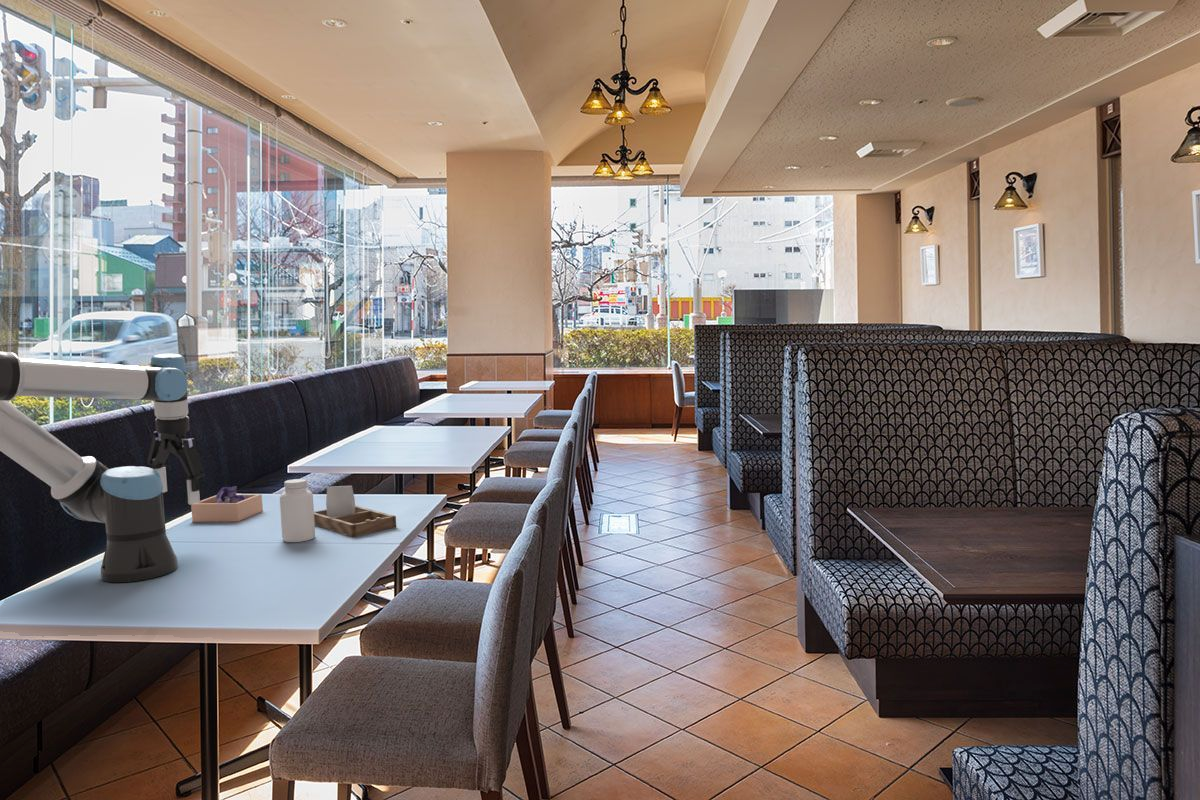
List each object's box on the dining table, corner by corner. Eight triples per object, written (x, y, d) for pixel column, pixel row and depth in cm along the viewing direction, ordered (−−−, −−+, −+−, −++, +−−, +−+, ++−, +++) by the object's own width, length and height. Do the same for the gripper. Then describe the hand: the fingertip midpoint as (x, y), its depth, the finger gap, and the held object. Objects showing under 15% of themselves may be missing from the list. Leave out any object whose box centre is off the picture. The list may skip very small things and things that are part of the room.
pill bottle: (316, 540, 215) (312, 481, 214) (282, 544, 212) (278, 485, 211) (314, 533, 222) (310, 476, 221) (282, 537, 219) (277, 479, 218)
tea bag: (352, 523, 232) (350, 487, 231) (327, 524, 232) (325, 488, 231) (356, 520, 236) (353, 484, 235) (331, 521, 236) (328, 485, 235)
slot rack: (396, 527, 226) (395, 514, 225) (353, 537, 217) (352, 523, 217) (351, 514, 243) (350, 503, 243) (309, 523, 234) (308, 511, 234)
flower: (196, 496, 245) (226, 480, 245) (216, 502, 253) (244, 486, 253) (204, 524, 242) (234, 508, 241) (223, 529, 250) (253, 514, 249)
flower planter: (238, 521, 240) (237, 503, 240) (192, 521, 242) (191, 504, 242) (262, 510, 253) (261, 494, 253) (218, 511, 255) (217, 494, 254)
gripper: (217, 421, 210) (221, 503, 214) (156, 406, 222) (162, 484, 227) (189, 426, 204) (194, 511, 208) (128, 411, 216) (134, 491, 220)
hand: (177, 497), depth 217 cm, fingers open, 13 cm apart
